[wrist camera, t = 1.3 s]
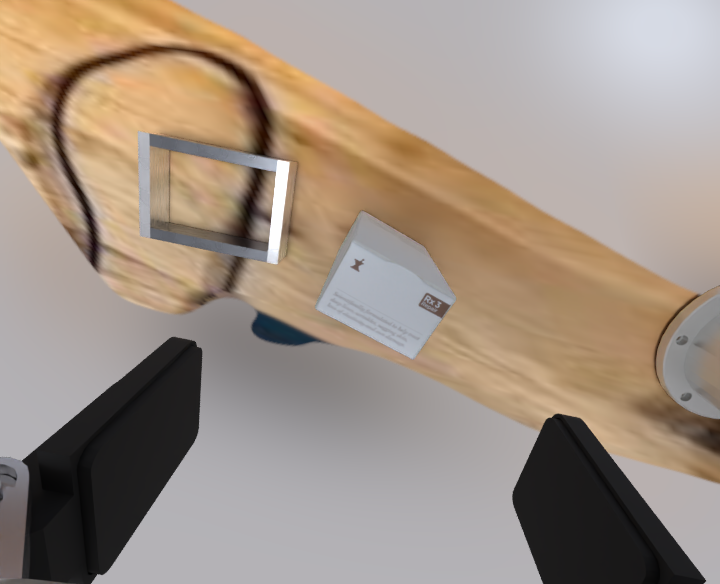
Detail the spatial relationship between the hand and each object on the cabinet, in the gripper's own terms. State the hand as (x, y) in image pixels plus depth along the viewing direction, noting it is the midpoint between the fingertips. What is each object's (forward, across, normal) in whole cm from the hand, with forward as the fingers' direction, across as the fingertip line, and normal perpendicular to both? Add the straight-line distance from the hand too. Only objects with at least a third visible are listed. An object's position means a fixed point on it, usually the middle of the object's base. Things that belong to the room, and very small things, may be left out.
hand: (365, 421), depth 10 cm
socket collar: (+21, +12, -2) cm, 24 cm away
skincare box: (+21, -1, 0) cm, 21 cm away
